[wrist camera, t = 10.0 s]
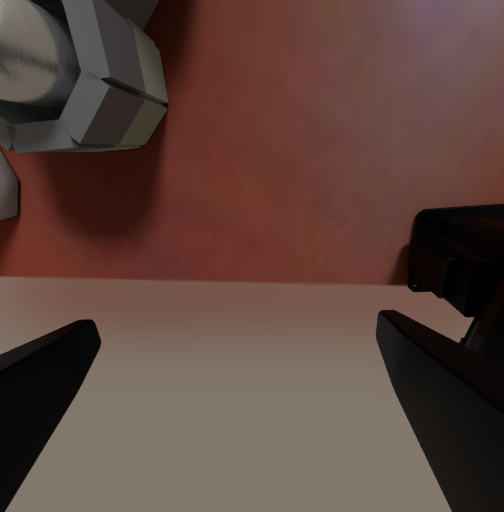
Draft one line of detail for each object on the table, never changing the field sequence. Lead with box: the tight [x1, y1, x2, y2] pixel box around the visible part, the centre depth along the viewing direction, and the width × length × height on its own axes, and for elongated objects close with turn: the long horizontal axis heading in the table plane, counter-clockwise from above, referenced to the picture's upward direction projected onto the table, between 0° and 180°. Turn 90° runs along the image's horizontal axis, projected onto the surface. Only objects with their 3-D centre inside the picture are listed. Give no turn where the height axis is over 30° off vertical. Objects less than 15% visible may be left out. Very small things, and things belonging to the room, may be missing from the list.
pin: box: [0, 0, 81, 111], centre depth 13 cm, size 4×4×9 cm
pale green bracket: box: [36, 2, 169, 152], centre depth 14 cm, size 15×8×7 cm, turn 50°
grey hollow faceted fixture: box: [0, 0, 159, 153], centre depth 13 cm, size 15×8×7 cm, turn 140°
